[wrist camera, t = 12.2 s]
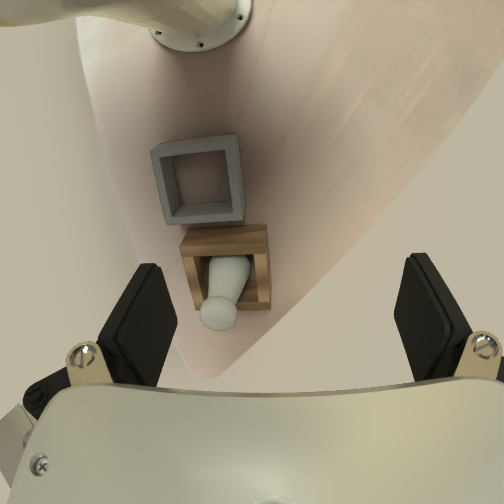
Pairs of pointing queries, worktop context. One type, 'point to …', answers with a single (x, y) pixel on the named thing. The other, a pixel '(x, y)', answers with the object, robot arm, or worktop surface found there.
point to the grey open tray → (198, 211)
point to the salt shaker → (224, 290)
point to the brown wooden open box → (228, 243)
